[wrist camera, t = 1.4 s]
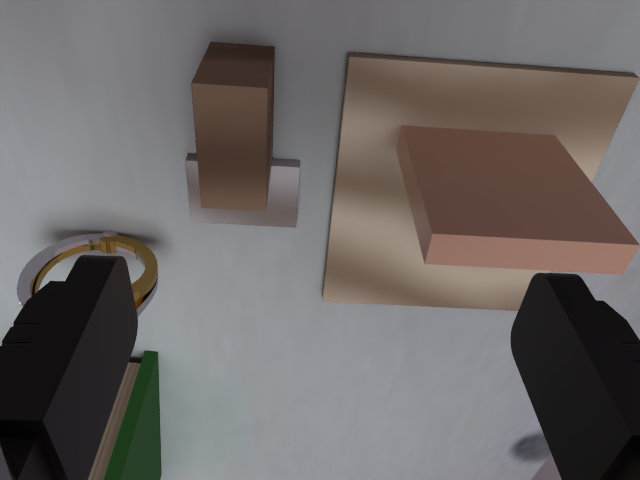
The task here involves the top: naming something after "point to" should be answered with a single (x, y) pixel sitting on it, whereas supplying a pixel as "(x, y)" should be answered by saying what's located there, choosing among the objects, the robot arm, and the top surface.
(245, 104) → the brown rectangular block
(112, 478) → the hardback book
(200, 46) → the top surface
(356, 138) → the board
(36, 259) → the ring
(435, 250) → the tile
